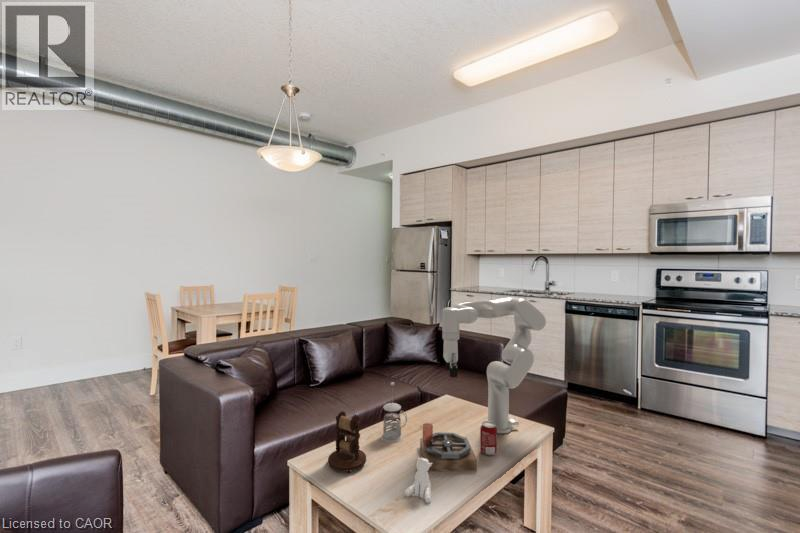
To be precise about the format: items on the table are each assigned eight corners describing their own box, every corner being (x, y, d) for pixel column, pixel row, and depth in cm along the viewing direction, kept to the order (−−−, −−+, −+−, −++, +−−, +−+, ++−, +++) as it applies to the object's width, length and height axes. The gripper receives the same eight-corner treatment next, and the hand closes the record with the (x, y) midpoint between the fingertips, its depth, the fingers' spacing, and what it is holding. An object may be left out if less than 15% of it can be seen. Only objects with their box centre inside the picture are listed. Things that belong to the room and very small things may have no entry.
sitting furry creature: (403, 496, 129) (403, 462, 129) (412, 482, 137) (413, 450, 136) (429, 504, 125) (430, 468, 125) (437, 489, 133) (438, 456, 133)
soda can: (496, 457, 154) (497, 428, 154) (479, 455, 156) (480, 426, 155) (496, 449, 161) (496, 421, 161) (479, 447, 162) (480, 419, 162)
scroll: (373, 460, 151) (373, 411, 151) (350, 479, 138) (350, 425, 138) (344, 450, 159) (344, 403, 158) (320, 467, 146) (320, 416, 145)
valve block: (466, 446, 163) (466, 436, 163) (477, 470, 145) (477, 459, 145) (420, 447, 162) (420, 437, 162) (425, 471, 144) (425, 460, 144)
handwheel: (465, 437, 162) (465, 416, 162) (473, 459, 145) (473, 436, 144) (421, 436, 162) (421, 416, 162) (424, 459, 145) (424, 435, 144)
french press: (384, 431, 176) (384, 377, 176) (408, 433, 174) (409, 379, 173) (378, 441, 167) (379, 385, 166) (404, 444, 165) (405, 387, 164)
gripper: (439, 331, 177) (439, 367, 178) (446, 340, 160) (446, 380, 161) (455, 331, 178) (455, 367, 178) (463, 339, 160) (464, 379, 161)
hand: (451, 373), depth 170 cm, fingers open, 9 cm apart
